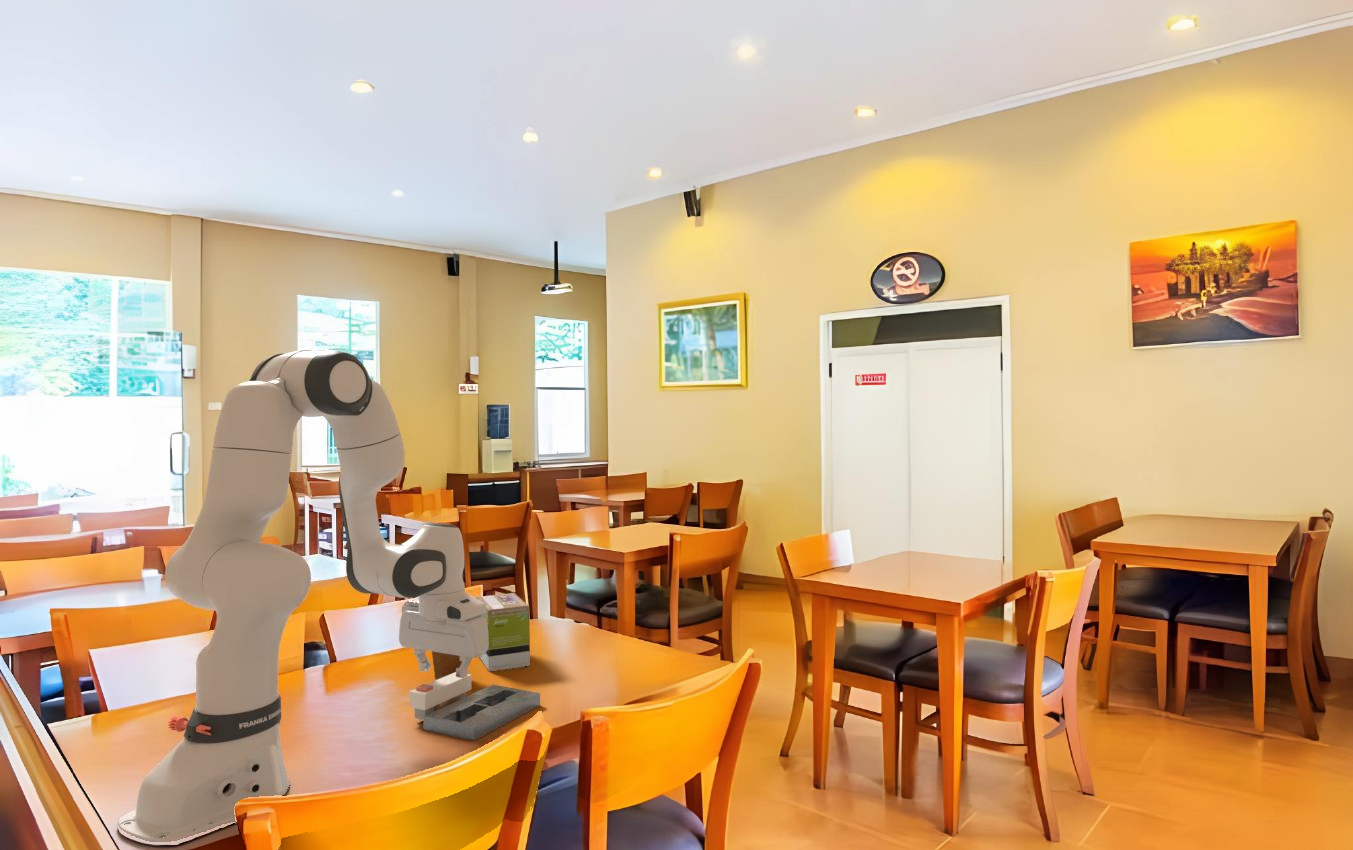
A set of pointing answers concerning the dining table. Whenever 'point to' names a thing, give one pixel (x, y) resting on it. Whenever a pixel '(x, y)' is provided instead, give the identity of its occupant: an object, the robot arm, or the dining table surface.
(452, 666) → the disposable coffee cup
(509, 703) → the keyhole plate
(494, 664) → the tea box
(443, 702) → the tan rectangular block
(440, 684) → the white key block
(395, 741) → the dining table surface
